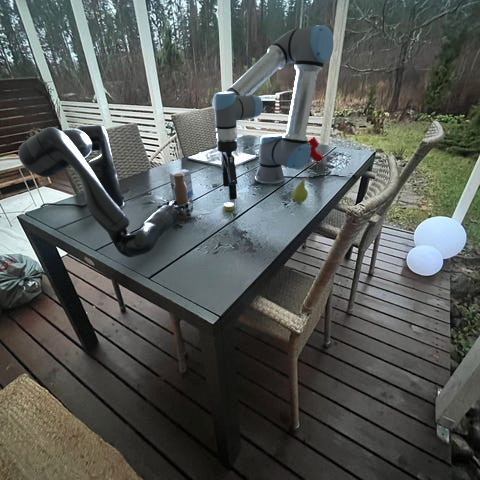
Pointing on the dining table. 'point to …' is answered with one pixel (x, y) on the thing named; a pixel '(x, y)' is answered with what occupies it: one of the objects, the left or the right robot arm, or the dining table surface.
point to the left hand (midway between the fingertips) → (185, 200)
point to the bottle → (180, 192)
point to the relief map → (215, 157)
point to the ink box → (186, 179)
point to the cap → (228, 206)
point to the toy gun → (314, 153)
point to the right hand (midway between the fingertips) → (229, 192)
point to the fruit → (300, 192)
